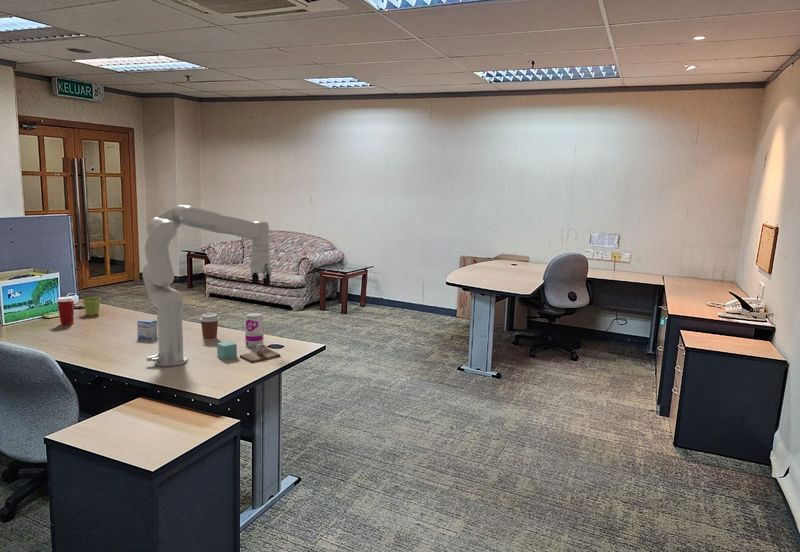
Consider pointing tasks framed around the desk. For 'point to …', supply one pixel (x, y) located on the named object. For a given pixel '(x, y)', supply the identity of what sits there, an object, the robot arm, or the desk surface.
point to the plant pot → (91, 305)
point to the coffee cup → (209, 326)
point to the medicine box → (147, 329)
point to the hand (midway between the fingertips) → (260, 284)
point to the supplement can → (253, 329)
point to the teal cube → (226, 350)
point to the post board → (258, 358)
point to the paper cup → (66, 310)
